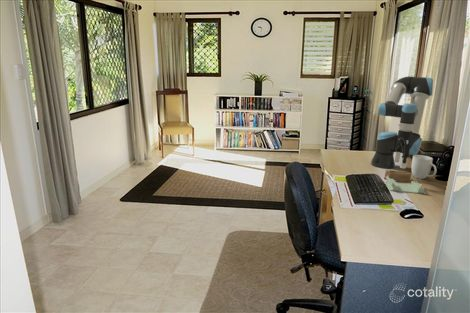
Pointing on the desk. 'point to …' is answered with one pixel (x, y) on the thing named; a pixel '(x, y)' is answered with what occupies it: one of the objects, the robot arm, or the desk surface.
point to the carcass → (405, 186)
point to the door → (398, 175)
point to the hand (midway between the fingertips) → (399, 165)
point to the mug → (422, 166)
